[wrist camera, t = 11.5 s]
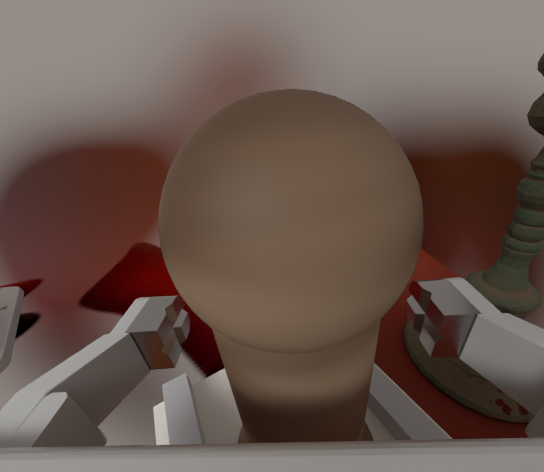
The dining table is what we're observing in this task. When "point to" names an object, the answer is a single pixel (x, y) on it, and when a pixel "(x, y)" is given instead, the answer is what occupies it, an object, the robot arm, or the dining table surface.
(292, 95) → the tan wooden upright piece
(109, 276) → the dining table surface
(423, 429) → the tray
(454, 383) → the candlestick holder
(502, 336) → the robot arm
